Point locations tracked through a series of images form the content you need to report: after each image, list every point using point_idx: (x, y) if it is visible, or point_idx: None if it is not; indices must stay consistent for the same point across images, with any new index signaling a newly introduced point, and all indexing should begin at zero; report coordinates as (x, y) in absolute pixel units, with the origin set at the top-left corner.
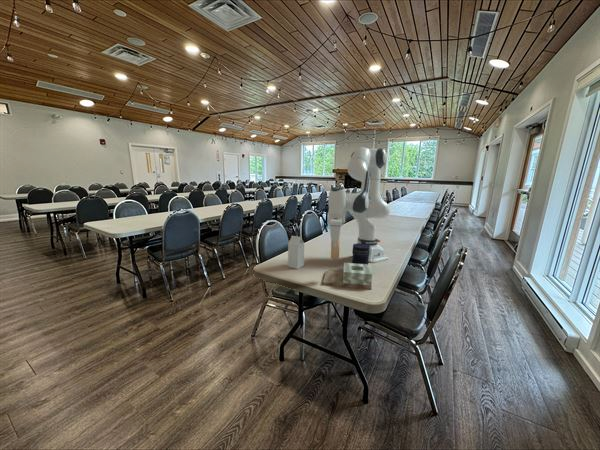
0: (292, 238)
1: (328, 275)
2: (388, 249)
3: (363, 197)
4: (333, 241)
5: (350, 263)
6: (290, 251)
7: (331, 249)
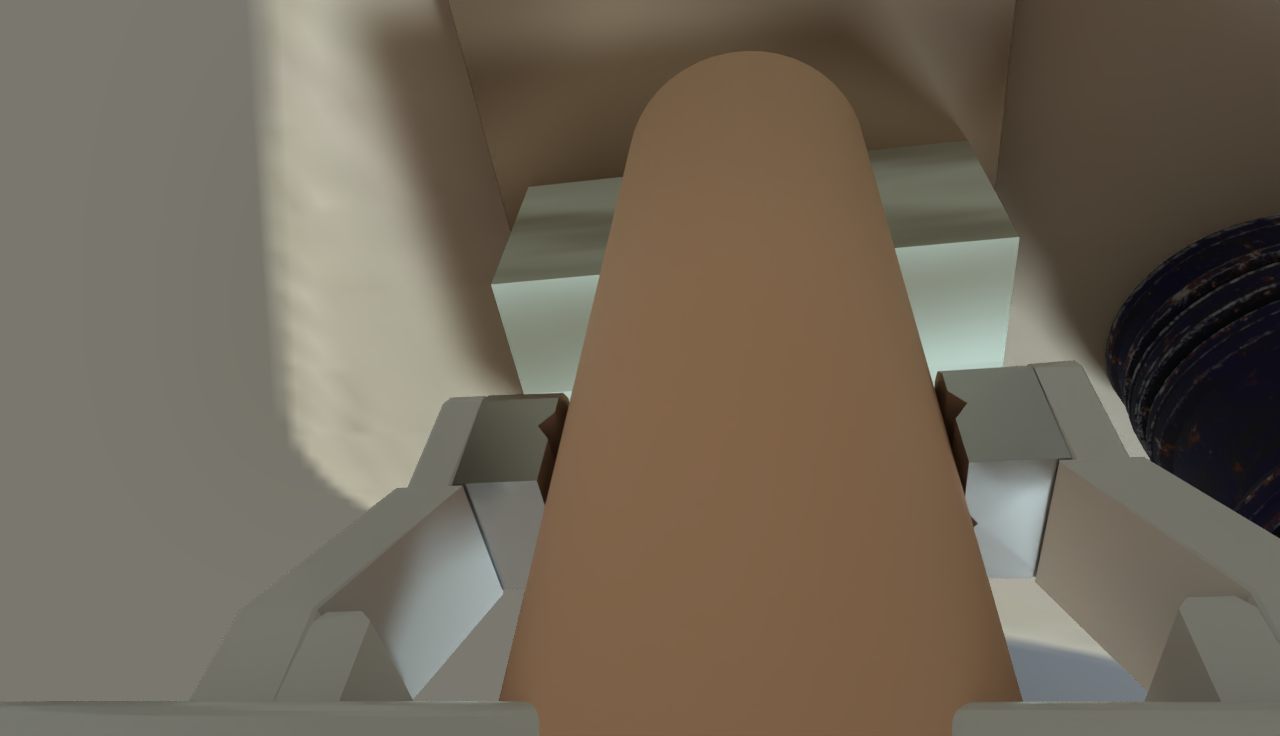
0: None
1: None
2: None
3: None
4: (307, 571)
5: (980, 349)
6: None
7: (653, 198)
